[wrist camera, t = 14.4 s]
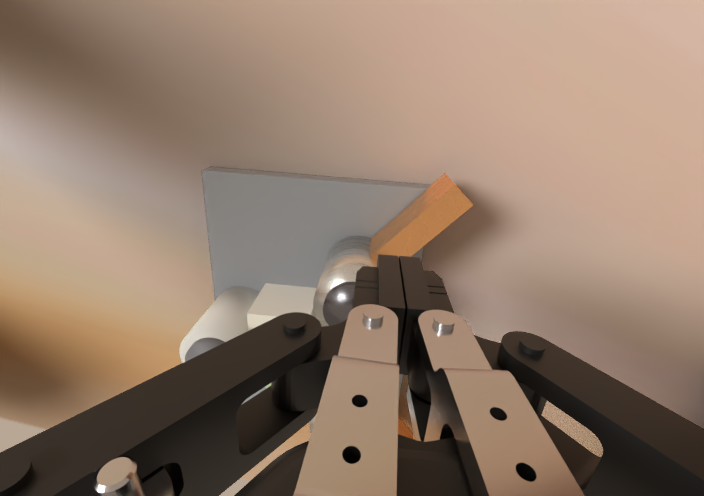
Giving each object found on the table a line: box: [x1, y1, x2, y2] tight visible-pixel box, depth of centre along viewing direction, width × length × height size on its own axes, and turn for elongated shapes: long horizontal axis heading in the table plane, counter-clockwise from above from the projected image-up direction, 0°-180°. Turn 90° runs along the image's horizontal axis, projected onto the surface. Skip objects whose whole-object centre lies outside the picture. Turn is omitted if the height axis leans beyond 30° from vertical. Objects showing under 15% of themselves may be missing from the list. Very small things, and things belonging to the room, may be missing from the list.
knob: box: [313, 174, 473, 327], centre depth 23 cm, size 12×5×7 cm, turn 135°
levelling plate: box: [179, 167, 431, 405], centre depth 28 cm, size 24×17×8 cm
